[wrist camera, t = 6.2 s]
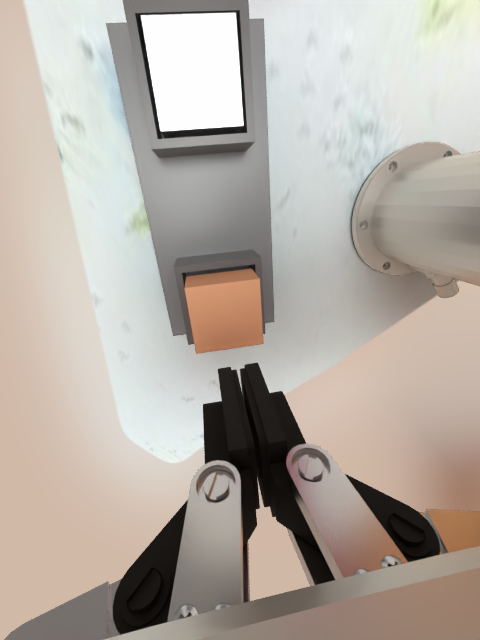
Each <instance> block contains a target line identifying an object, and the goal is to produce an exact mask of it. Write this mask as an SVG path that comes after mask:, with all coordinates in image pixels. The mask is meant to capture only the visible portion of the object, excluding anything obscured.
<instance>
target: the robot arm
mask: <svg viewBox="0 0 480 640" xmlns="http://www.w3.org/2000/svg"><path fill="white" fill-rule="evenodd" d="M360 223H361V226H360ZM352 236H353V241H354V245H355V247H356V250H357V252H358V254H359V256H360V257H361V258H362V259H363V261H364V262H365V263H366V264H368V265H369V266H370V267H371V268H373V269H375V270H378V271H380V272H383V273H386V274H389V275H405V274H410V273H414V272H417V271H420V272H423V273H424V275H425V277H427V278H429V279H431V280H432V282H433V283H432V284H433V286H434V288H435V290H436V292H437V294H438V296H439V297H441V298H448V297H452V296H454V295H455V294H457V293H458V291H459V288H458V286H457V283H456V281H455V279H457V280H461V281H464V282H467V283H471V284H474V285H477V286H480V151H478V152H472V153H466V154H460V153H459V152H458V151H456V150H455V149H454V148H452V147H451V146H449V145H446V144H443V143H440V142H423V143H418V144H414V145H411V146H407V147H404V148H402V149H400V150H398V151H396V152H394V153H393V154H391V155H390V156H389V157H387V158H386V159H385V160H383V161H382V162H381V163H380V164H379V165H378V166H377V167H376V168H375V169H374V171H373V172H372V173H371V174H370V176H369V177H368V179H367V180H366V182H365V183H364V185H363V187H362V189H361V191H360V193H359V195H358V197H357V200H356V204H355V207H354V210H353V217H352ZM218 374H219V382H220V390H221V397H222V401H220V402H214V403H208V404H203V419H204V449H205V465H203V466H202V467H201V468H200V469H198V470H197V472H196V474H195V475H194V476H193V479H192V482H191V486H190V492H189V498H188V500H187V501H186V503H185V504H184V505H183V506H182V507H181V508H180V509H179V511H178V512H177V513H176V514H175V515H174V516H173V518H172V519H171V520H170V521H169V522H168V524H167V525H166V526H165V527H164V528H163V529H162V531H161V532H160V533H159V534H158V535H157V536H156V538H155V539H154V540H153V541H152V542H151V543H150V545H149V546H148V547H147V548H146V549H145V551H144V552H143V553H142V554H141V555H140V556H139V558H138V559H137V560H136V561H135V562H134V564H133V565H132V566H131V567H130V568H129V569H128V571H127V572H126V574H125V575H124V577H123V578H122V579H120V580H119V581H116V582H114V583H112V584H111V585H110V584H109V582H106V583H104V584H102V585H100V586H98V587H96V588H94V589H92V590H90V591H88V592H86V593H84V594H82V595H80V596H78V597H76V598H74V599H72V600H70V601H68V602H66V603H64V604H62V605H60V606H58V607H56V608H54V609H52V610H50V611H48V612H46V613H44V614H42V615H40V616H38V617H36V618H34V619H32V620H30V621H28V622H26V623H24V624H23V625H21V626H20V627H18V628H17V629H15V630H14V631H12V632H11V633H10V634H9V635H8V636H7V637H6V638H5V639H4V640H480V511H461V510H438V509H426V511H425V513H423V512H418V511H416V510H414V509H413V508H411V507H410V506H408V505H406V504H404V503H402V502H400V501H398V500H396V499H393V498H392V497H390V496H388V495H386V494H384V493H382V492H380V491H378V490H376V489H374V488H372V487H370V486H368V485H366V484H364V483H362V482H360V481H358V480H356V479H354V478H352V477H350V476H348V475H346V474H344V473H343V471H342V470H341V469H340V467H339V466H338V464H337V463H336V462H335V460H334V459H333V457H332V456H331V455H330V454H329V453H328V452H327V451H326V450H324V449H323V448H321V447H320V446H317V445H313V444H306V442H305V440H304V438H303V435H302V433H301V431H300V429H299V427H298V424H297V422H296V420H295V418H294V416H293V414H292V412H291V409H290V407H289V405H288V402H287V400H286V398H285V396H284V394H283V392H282V391H280V392H274V393H269V391H268V388H267V386H266V383H265V380H264V378H263V375H262V372H261V370H260V367H259V365H258V363H253V364H246V365H245V368H243V369H240V374H241V384H242V391H241V387H240V383H239V379H238V375H237V370H231V367H227V368H220V369H218ZM257 477H258V482H259V486H260V491H261V495H262V499H263V504H264V507H269V506H270V508H271V512H272V517H275V516H276V520H277V521H278V522H279V523H281V524H282V525H284V526H285V527H286V528H287V529H288V533H289V536H290V539H291V541H292V543H293V546H294V548H295V551H296V553H297V555H298V558H299V560H300V562H301V565H302V567H303V570H304V572H305V574H306V577H307V579H308V582H309V584H310V587H306V588H302V589H298V590H294V591H290V592H286V593H282V594H278V595H274V596H270V597H266V598H262V599H258V600H254V601H250V587H249V547H248V539H249V538H250V536H251V535H252V533H253V531H254V529H255V528H256V526H257V519H256V509H259V508H260V506H259V494H258V482H257Z"/></svg>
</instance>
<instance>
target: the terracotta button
mask: <svg viewBox="0 0 480 640" xmlns="http://www.w3.org/2000/svg"><path fill="white" fill-rule="evenodd" d="M185 294H186V300H187V305H188V311H189V316H190V322H191V327H192V333H193V338H194V344H195V350H196V354H198V353H204V352H211V351H218V350H225V349H231V348H238V347H245V346H252V345H259V344H263V328H262V310H261V292H260V278H259V277H258V276H257V275H256V273H255V272H254V271H253V270H252V269H244V270H235V271H227V272H219V273H210V274H202V275H194V276H186V282H185Z"/></svg>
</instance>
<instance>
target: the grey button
mask: <svg viewBox="0 0 480 640" xmlns="http://www.w3.org/2000/svg"><path fill="white" fill-rule="evenodd" d="M141 21H142V26H143V32H144V38H145V44H146V49H147V55H148V61H149V67H150V72H151V78H152V84H153V90H154V95H155V101H156V107H157V113H158V118H159V124H160V130H161V133H162V135H163V136H164V138H165V139H167V138H182V137H196V136H210V135H224V134H238V133H239V132H240V131H241V129H242V127H243V111H242V96H241V81H240V66H239V51H238V35H237V20H236V13H203V14H166V15H141Z"/></svg>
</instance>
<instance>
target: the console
mask: <svg viewBox="0 0 480 640" xmlns="http://www.w3.org/2000/svg"><path fill="white" fill-rule="evenodd" d="M123 4H124V10H125V15H126V20H127V23H106V26H107V31H108V35H109V40H110V44H111V49H112V54H113V58H114V63H115V68H116V72H117V77H118V82H119V86H120V91H121V96H122V100H123V105H124V110H125V114H126V119H127V124H128V128H129V133H130V137H131V142H132V147H133V151H134V156H135V161H136V165H137V170H138V175H139V179H140V184H141V189H142V193H143V198H144V203H145V207H146V212H147V216H148V221H149V226H150V230H151V235H152V240H153V244H154V249H155V254H156V258H157V263H158V268H159V272H160V277H161V282H162V286H163V291H164V296H165V300H166V305H167V309H168V314H169V319H170V323H171V328H172V333H173V336H176V335H183V334H187V340H188V345H190V344H194V338H193V333H192V327H191V322H190V316H189V311H188V305H187V300H186V294H185V282H186V276H194V275H202V274H210V273H219V272H227V271H235V270H244V269H252V270H253V271H254V272H255V273H256V275H257V276H258V277H259V278H260V292H261V310H262V328H263V334H265V323H269V322H274V299H273V270H272V241H271V213H270V184H269V155H268V126H267V97H266V68H265V39H264V19H249V6H248V0H123ZM203 13H236V20H237V35H238V51H239V66H240V81H241V96H242V111H243V127H242V129H241V131H240V132H239V133H238V134H224V135H210V136H196V137H182V138H167V139H165V138H164V136H163V135H162V133H161V130H160V124H159V118H158V113H157V107H156V101H155V95H154V90H153V84H152V78H151V72H150V67H149V61H148V55H147V49H146V44H145V38H144V32H143V26H142V21H141V15H166V14H203Z"/></svg>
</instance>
